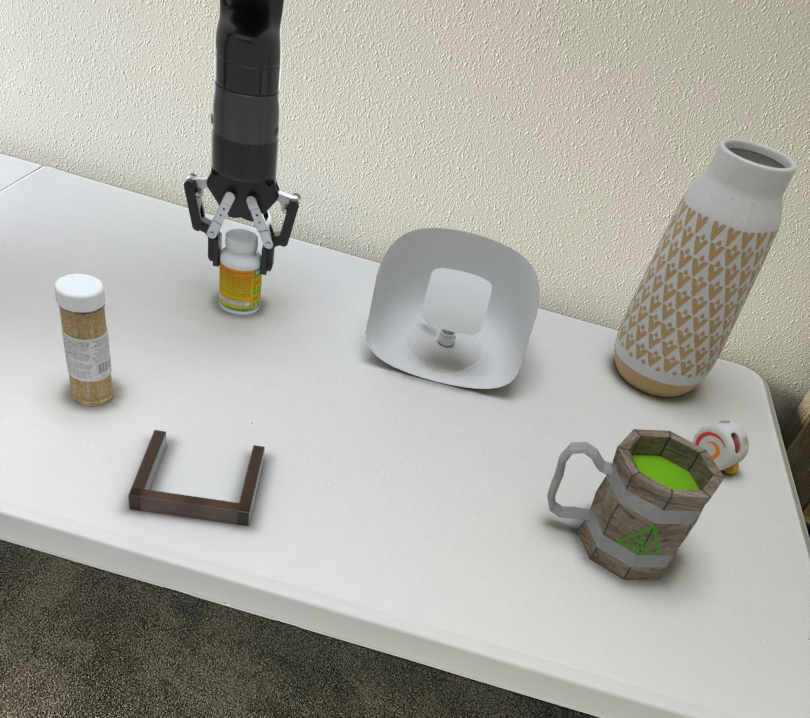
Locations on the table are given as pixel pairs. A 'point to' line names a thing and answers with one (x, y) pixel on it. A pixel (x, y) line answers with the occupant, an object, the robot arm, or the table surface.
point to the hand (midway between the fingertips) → (240, 267)
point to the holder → (191, 505)
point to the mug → (641, 501)
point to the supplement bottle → (240, 273)
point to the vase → (703, 269)
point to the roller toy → (724, 444)
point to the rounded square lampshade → (454, 303)
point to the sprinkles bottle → (85, 338)
